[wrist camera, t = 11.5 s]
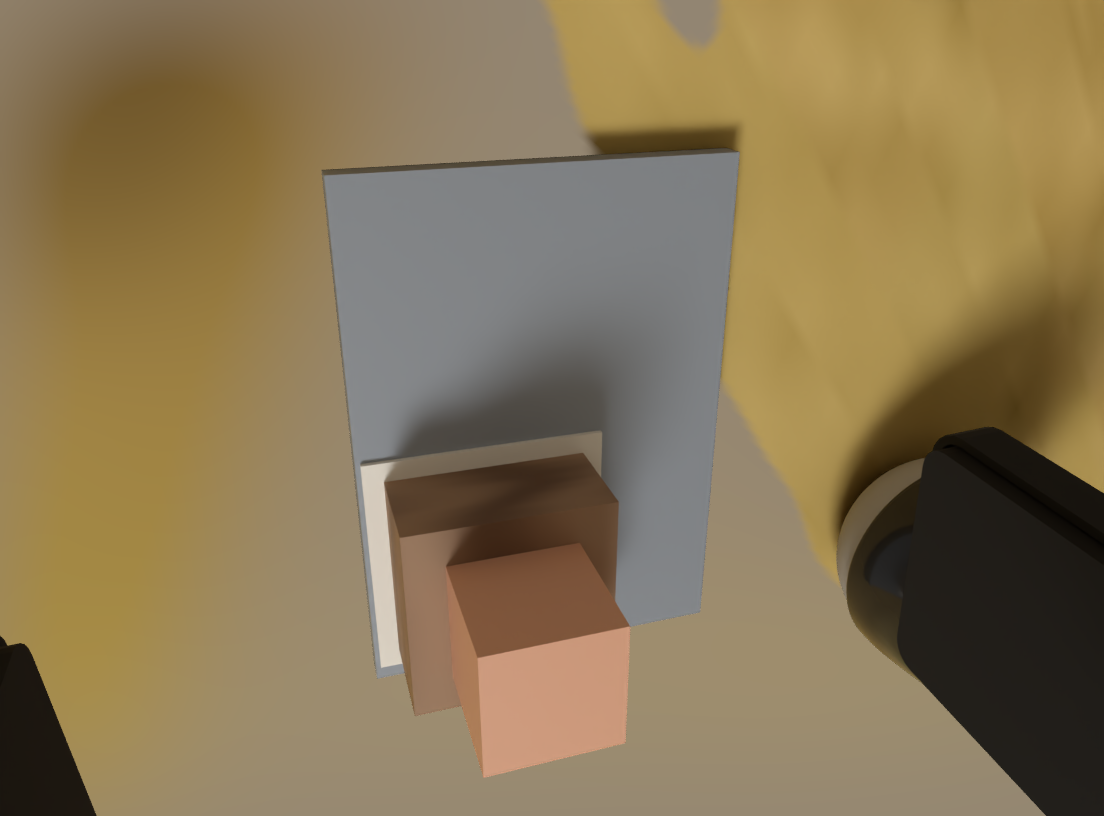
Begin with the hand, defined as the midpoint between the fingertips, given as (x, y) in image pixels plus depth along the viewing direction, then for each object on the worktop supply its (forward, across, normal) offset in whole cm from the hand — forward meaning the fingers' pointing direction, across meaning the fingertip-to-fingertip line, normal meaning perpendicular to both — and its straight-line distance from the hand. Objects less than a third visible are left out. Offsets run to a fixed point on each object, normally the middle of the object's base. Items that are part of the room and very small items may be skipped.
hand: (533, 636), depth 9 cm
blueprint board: (+24, -6, +11) cm, 27 cm away
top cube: (+19, -4, +15) cm, 25 cm away
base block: (+23, -4, +15) cm, 28 cm away
